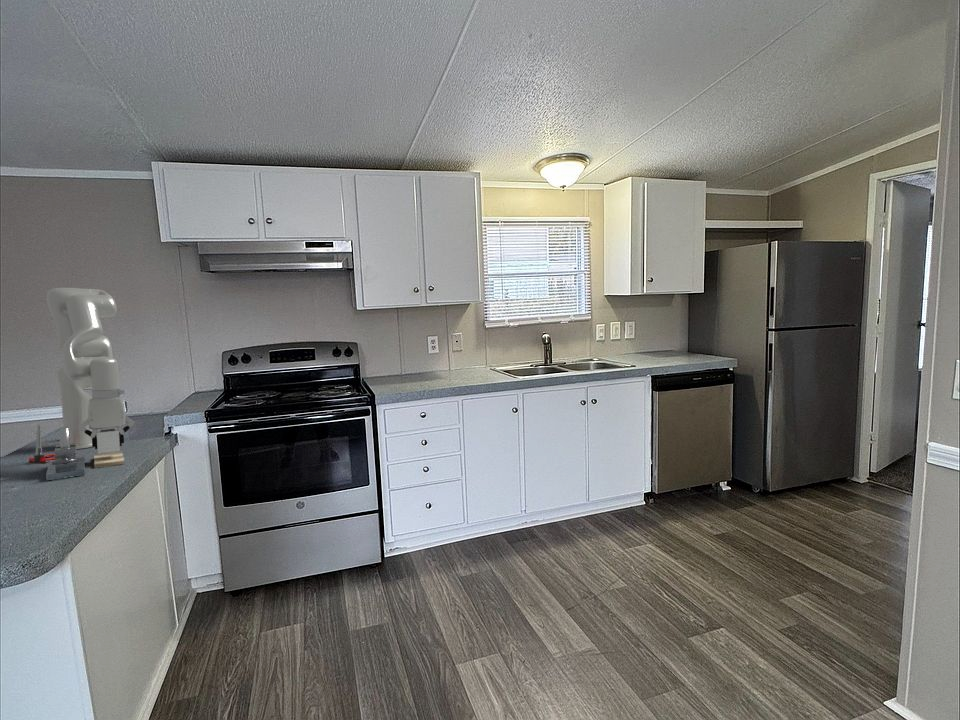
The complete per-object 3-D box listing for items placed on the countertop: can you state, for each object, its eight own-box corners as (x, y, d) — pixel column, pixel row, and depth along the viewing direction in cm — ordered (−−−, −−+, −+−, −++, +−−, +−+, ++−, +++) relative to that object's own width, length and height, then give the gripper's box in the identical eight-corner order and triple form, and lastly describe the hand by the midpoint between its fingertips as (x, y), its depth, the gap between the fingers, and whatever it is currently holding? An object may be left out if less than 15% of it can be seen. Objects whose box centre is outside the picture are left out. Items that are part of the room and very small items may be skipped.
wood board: (94, 458, 174) (94, 455, 174) (122, 455, 179) (122, 451, 179) (94, 468, 163) (94, 464, 163) (124, 464, 168) (124, 460, 168)
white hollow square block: (97, 450, 171) (96, 429, 170) (119, 447, 175) (118, 427, 174) (97, 453, 166) (96, 433, 166) (119, 450, 170) (118, 430, 169)
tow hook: (53, 456, 178) (25, 462, 169) (53, 420, 178) (25, 424, 169) (73, 457, 177) (47, 463, 168) (73, 421, 176) (47, 425, 167)
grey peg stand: (50, 467, 164) (47, 425, 163) (85, 462, 169) (82, 421, 168) (46, 481, 150) (43, 435, 148) (84, 475, 155) (82, 431, 154)
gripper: (135, 391, 177) (138, 441, 179) (73, 395, 167) (76, 448, 168) (137, 393, 171) (139, 445, 173) (72, 398, 161) (75, 453, 162)
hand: (108, 446), depth 170 cm, fingers closed on white hollow square block, 6 cm apart
